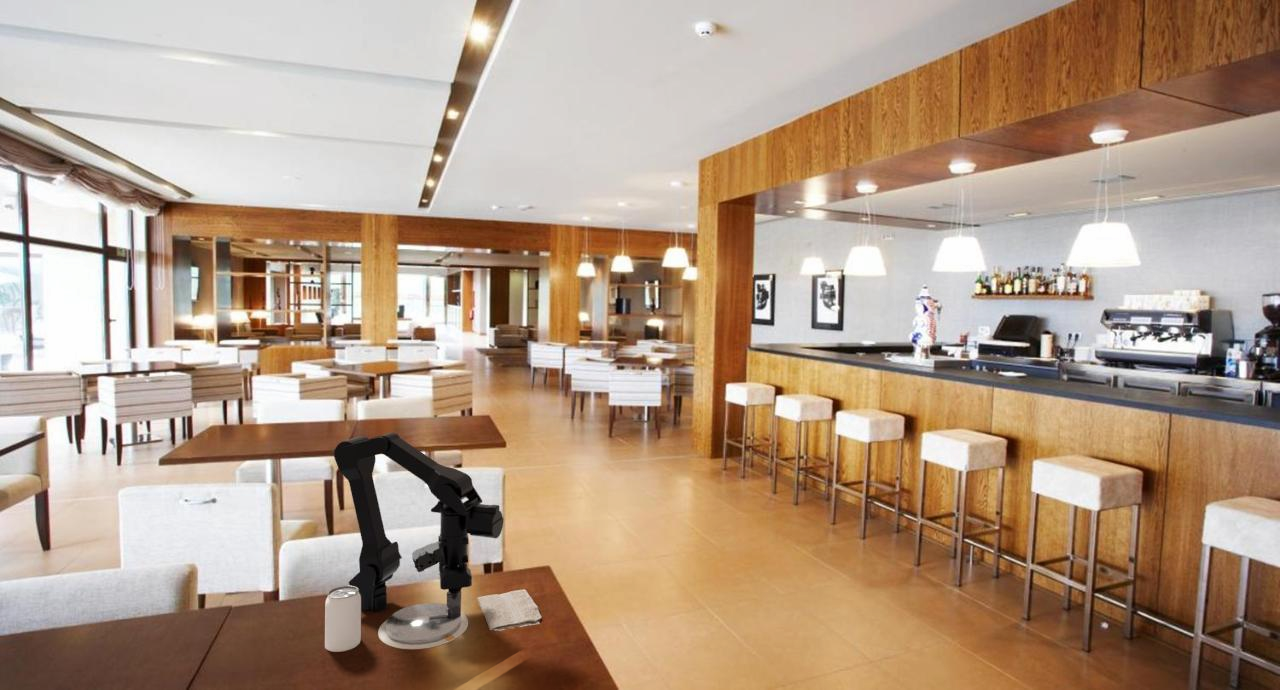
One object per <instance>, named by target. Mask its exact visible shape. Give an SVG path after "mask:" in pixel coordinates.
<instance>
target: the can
mask: <svg viewBox="0 0 1280 690" xmlns="http://www.w3.org/2000/svg"><path fill="white" fill-rule="evenodd" d="M324 603H325V606H324V607H325V608H324V612H325V613H324V649H326V650H327V651H329V652H334V653H339V652H346V651H349V650H352V649H354V648H356V647H358V646H359V644H360V643H361V638H362V637H361V634H362V633H361V631H362V630H361V629H362V625H361V624H362V620H361V619H362V615H361V614H362V611H361V596H360V594H359V589H358V588H357V587H355V586H349V585H343V586H342V585H341V586H337V587H335V588H332V589H331V590H329V591H328V593H327V597H326V599H325V602H324Z"/></svg>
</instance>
